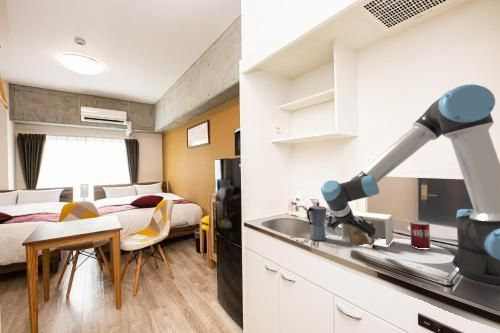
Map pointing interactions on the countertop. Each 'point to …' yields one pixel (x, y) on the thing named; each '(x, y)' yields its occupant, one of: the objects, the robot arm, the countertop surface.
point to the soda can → (420, 234)
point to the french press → (327, 229)
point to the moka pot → (317, 222)
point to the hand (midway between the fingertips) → (354, 236)
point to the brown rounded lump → (359, 236)
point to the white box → (379, 223)
